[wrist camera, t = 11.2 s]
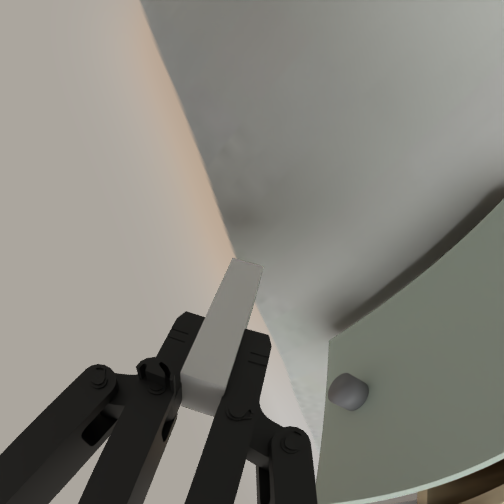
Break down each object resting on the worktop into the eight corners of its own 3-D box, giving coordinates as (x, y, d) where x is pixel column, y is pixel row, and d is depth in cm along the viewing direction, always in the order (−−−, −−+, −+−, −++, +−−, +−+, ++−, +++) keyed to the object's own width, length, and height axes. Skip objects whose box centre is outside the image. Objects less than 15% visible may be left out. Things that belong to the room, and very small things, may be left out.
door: (506, 167, 12) (649, 316, 1) (524, 201, 13) (638, 350, 2) (315, 332, 22) (292, 501, 11) (342, 349, 23) (330, 507, 12)
